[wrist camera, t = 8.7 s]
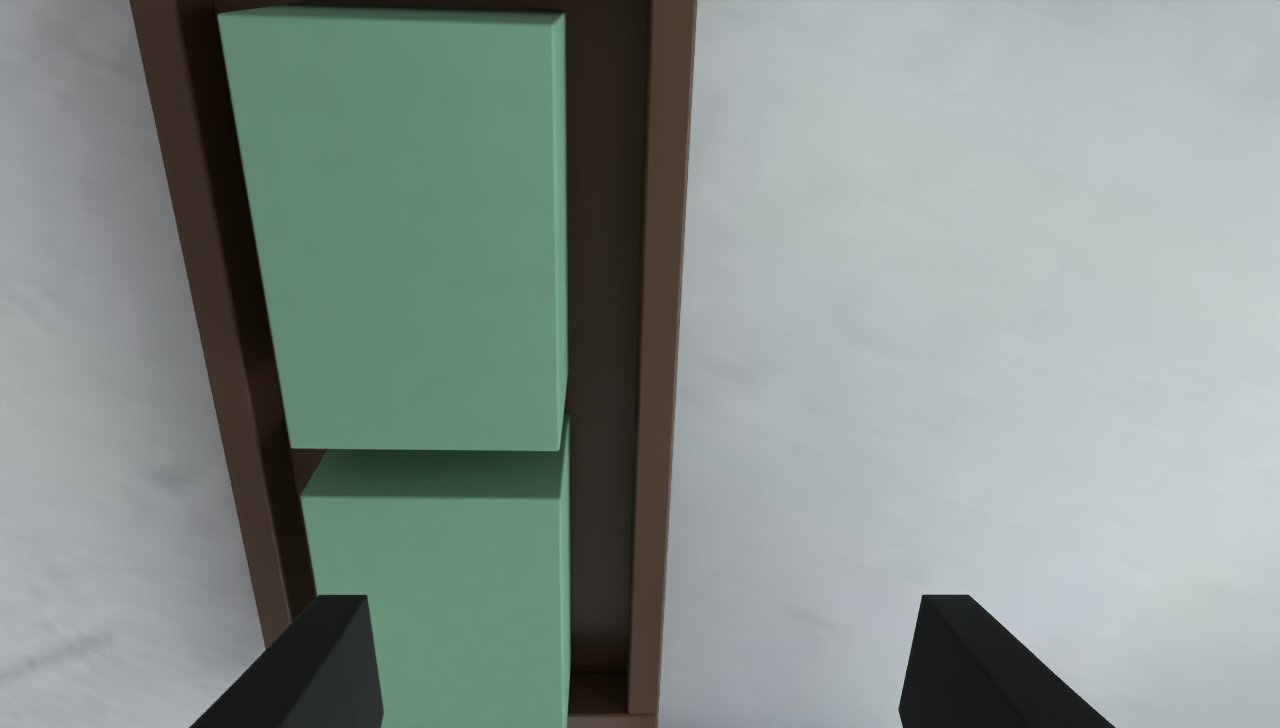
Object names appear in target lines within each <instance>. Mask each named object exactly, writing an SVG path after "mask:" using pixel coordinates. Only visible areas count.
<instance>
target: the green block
mask: <svg viewBox="0 0 1280 728" xmlns="http://www.w3.org/2000/svg"><path fill="white" fill-rule="evenodd" d="M300 498H301V504H302V510H303V516H304V522H305V528H306V534H307V540H308V545H309V551H310V557H311V563H312V569H313V575H314V581H315V587H316V593H317V596H319V595H367V597H368V604H369V611H370V618H371V625H372V632H373V639H374V645H375V652H376V659H377V666H378V673H379V680H380V687H381V694H382V701H383V708H384V715H383V720H382V724H381V728H567V716H568V699H569V682H570V666H571V572H570V415H569V413H564V414H563V423H562V432H561V442H560V449H559V451H502V450H410V449H328V450H327V451H326V453H325V455H324V457H323V458H322V460H321V462H320V463H319V465H318V467H317V469H316V470H315V472H314V474H313V475H312V477H311V479H310V481H309V482H308V484H307V486H306V487H305V489H304V491H303V493H302V494H301V496H300Z"/></svg>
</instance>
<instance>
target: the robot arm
mask: <svg viewBox="0 0 1280 728" xmlns="http://www.w3.org/2000/svg"><path fill="white" fill-rule="evenodd" d="M898 710H899V714H900V718H901V722H902V726H903V728H1115V727H1114V726H1113V725H1112V724H1111V723H1109V722H1108V721H1107V720H1106V719H1105V718H1104V717H1103V716H1101V715H1100V714H1099V713H1098V712H1097V711H1096V710H1095V709H1093V708H1092V707H1091V706H1090V705H1089V704H1088V703H1087V702H1086V701H1084V700H1083V699H1082V698H1081V697H1080V696H1079V695H1078V694H1077V693H1075V692H1074V691H1073V690H1072V689H1071V688H1070V687H1069V686H1068V685H1067V684H1065V683H1064V682H1063V681H1062V680H1061V679H1060V678H1059V677H1058V676H1057V675H1055V674H1054V673H1053V672H1052V671H1051V670H1050V669H1049V668H1048V667H1047V666H1046V665H1045V664H1044V663H1042V662H1041V661H1040V660H1039V659H1038V658H1037V657H1036V656H1035V655H1034V654H1033V653H1032V652H1031V651H1029V650H1028V649H1027V648H1026V647H1025V646H1024V645H1023V644H1022V643H1021V642H1020V641H1019V640H1018V639H1016V638H1015V637H1014V636H1013V635H1012V634H1011V633H1010V632H1009V631H1008V630H1007V629H1006V628H1005V627H1004V626H1003V625H1001V624H1000V623H999V622H998V621H997V620H996V619H995V618H994V617H993V616H992V615H991V614H990V613H988V612H987V611H986V610H985V609H984V608H983V607H982V606H981V605H980V604H978V603H977V602H976V601H975V600H974V599H973V598H972V597H971V596H969V595H922V599H921V604H920V609H919V614H918V618H917V623H916V628H915V633H914V638H913V642H912V647H911V652H910V657H909V661H908V666H907V671H906V676H905V681H904V685H903V690H902V695H901V700H900V705H899V709H898ZM383 715H384V708H383V701H382V694H381V687H380V680H379V673H378V666H377V659H376V652H375V645H374V639H373V632H372V625H371V618H370V611H369V604H368V597H367V595H319V596H317V597H316V598H315V599H314V600H313V601H312V602H311V603H310V604H309V605H308V606H307V607H306V608H305V609H304V610H303V611H302V612H301V613H300V614H299V615H298V616H297V618H296V619H295V620H294V621H293V622H292V623H291V624H290V625H289V626H288V627H287V628H286V629H285V630H284V631H283V632H282V633H281V634H280V636H279V637H278V638H277V639H276V640H275V641H274V642H273V643H272V644H271V645H270V646H269V647H268V648H267V649H266V650H265V651H264V652H263V654H262V655H261V656H260V657H259V658H258V659H257V660H256V661H255V662H254V663H253V664H252V665H251V666H250V667H249V668H248V669H247V670H246V671H245V672H244V673H243V674H242V675H241V676H240V677H239V679H238V680H237V681H236V682H235V683H234V684H233V685H232V686H231V687H230V688H229V689H228V690H227V691H226V692H225V693H224V694H223V695H222V696H221V697H220V698H219V699H218V700H217V701H216V702H215V703H214V704H213V705H212V706H211V707H210V708H209V709H208V710H207V711H206V712H205V713H204V714H203V715H202V716H201V717H200V718H199V719H198V720H197V721H196V722H195V723H194V724H193V725H191V726H190V727H189V728H381V724H382V720H383Z"/></svg>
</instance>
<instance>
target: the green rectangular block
mask: <svg viewBox="0 0 1280 728" xmlns="http://www.w3.org/2000/svg"><path fill="white" fill-rule="evenodd" d="M217 18H218V24H219V30H220V36H221V42H222V48H223V53H224V59H225V65H226V71H227V77H228V83H229V89H230V94H231V100H232V106H233V112H234V118H235V124H236V130H237V135H238V141H239V147H240V153H241V159H242V165H243V171H244V177H245V182H246V188H247V194H248V200H249V206H250V212H251V218H252V223H253V229H254V235H255V241H256V247H257V253H258V259H259V265H260V270H261V276H262V282H263V288H264V294H265V300H266V306H267V311H268V317H269V323H270V329H271V335H272V341H273V347H274V352H275V358H276V364H277V370H278V376H279V382H280V388H281V394H282V399H283V405H284V411H285V417H286V423H287V429H288V435H289V440H290V446H291V448H317V449H410V450H502V451H559V449H560V442H561V432H562V423H563V414H564V405H565V396H566V387H567V378H568V248H567V102H566V13H565V12H564V11H543V10H511V9H479V8H447V7H414V6H382V5H350V4H317V3H293V4H285V5H278V6H270V7H263V8H256V9H248V10H241V11H233V12H226V13H220V14H218V16H217Z"/></svg>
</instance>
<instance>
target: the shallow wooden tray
mask: <svg viewBox="0 0 1280 728" xmlns="http://www.w3.org/2000/svg"><path fill="white" fill-rule="evenodd" d="M293 3H317V4H350V5H382V6H414V7H447V8H479V9H511V10H543V11H564V12H565V13H566V102H567V248H568V378H567V387H566V396H565V405H564V413H569V415H570V572H571V666H570V682H569V699H568V716H567V728H658V711H659V694H660V676H661V657H662V639H663V620H664V602H665V584H666V565H667V547H668V528H669V510H670V492H671V473H672V455H673V436H674V418H675V399H676V381H677V363H678V344H679V326H680V307H681V289H682V271H683V252H684V234H685V215H686V197H687V179H688V160H689V142H690V123H691V105H692V87H693V68H694V50H695V31H696V13H697V0H130V5H131V10H132V15H133V19H134V24H135V29H136V34H137V38H138V43H139V48H140V53H141V57H142V62H143V67H144V72H145V76H146V81H147V86H148V91H149V95H150V100H151V105H152V110H153V115H154V119H155V124H156V129H157V134H158V138H159V143H160V148H161V153H162V157H163V162H164V167H165V172H166V176H167V181H168V186H169V191H170V195H171V200H172V205H173V210H174V214H175V219H176V224H177V229H178V234H179V238H180V243H181V248H182V253H183V257H184V262H185V267H186V272H187V276H188V281H189V286H190V291H191V295H192V300H193V305H194V310H195V314H196V319H197V324H198V329H199V333H200V338H201V343H202V348H203V353H204V357H205V362H206V367H207V372H208V376H209V381H210V386H211V391H212V395H213V400H214V405H215V410H216V414H217V419H218V424H219V429H220V433H221V438H222V443H223V448H224V452H225V457H226V462H227V467H228V472H229V476H230V481H231V486H232V491H233V495H234V500H235V505H236V510H237V514H238V519H239V524H240V529H241V533H242V538H243V543H244V548H245V552H246V557H247V562H248V567H249V572H250V576H251V581H252V586H253V591H254V595H255V600H256V605H257V610H258V614H259V619H260V624H261V629H262V633H263V638H264V643H265V648H266V649H267V648H268V647H269V646H270V645H271V644H272V643H273V642H274V641H275V640H276V639H277V638H278V637H279V636H280V634H281V633H282V632H283V631H284V630H285V629H286V628H287V627H288V626H289V625H290V624H291V623H292V622H293V621H294V620H295V619H296V618H297V616H298V615H299V614H300V613H301V612H302V611H303V610H304V609H305V608H306V607H307V606H308V605H309V604H310V603H311V602H312V601H313V600H314V599H315V598H316V597H317V593H316V587H315V581H314V575H313V569H312V563H311V557H310V551H309V545H308V540H307V534H306V528H305V522H304V516H303V510H302V504H301V498H300V496H301V494H302V493H303V491H304V489H305V487H306V486H307V484H308V482H309V481H310V479H311V477H312V475H313V474H314V472H315V470H316V469H317V467H318V465H319V463H320V462H321V460H322V458H323V457H324V455H325V453H326V451H327V450H328V449H317V448H291V446H290V440H289V435H288V429H287V423H286V417H285V411H284V405H283V399H282V394H281V388H280V382H279V376H278V370H277V364H276V358H275V352H274V347H273V341H272V335H271V329H270V323H269V317H268V311H267V306H266V300H265V294H264V288H263V282H262V276H261V270H260V265H259V259H258V253H257V247H256V241H255V235H254V229H253V223H252V218H251V212H250V206H249V200H248V194H247V188H246V182H245V177H244V171H243V165H242V159H241V153H240V147H239V141H238V135H237V130H236V124H235V118H234V112H233V106H232V100H231V94H230V89H229V83H228V77H227V71H226V65H225V59H224V53H223V48H222V42H221V36H220V30H219V24H218V18H217V16H218V14H220V13H226V12H233V11H241V10H248V9H256V8H263V7H270V6H278V5H285V4H293Z"/></svg>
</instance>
